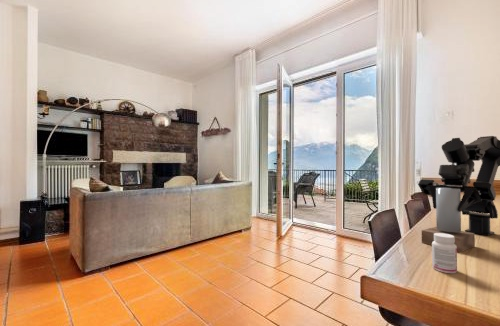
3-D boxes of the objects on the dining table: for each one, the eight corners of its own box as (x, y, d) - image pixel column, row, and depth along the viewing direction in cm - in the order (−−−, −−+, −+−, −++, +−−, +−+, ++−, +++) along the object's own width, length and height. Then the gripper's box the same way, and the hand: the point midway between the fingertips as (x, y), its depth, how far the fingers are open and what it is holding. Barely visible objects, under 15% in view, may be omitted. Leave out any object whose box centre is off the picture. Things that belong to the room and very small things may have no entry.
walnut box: (437, 237, 84) (437, 226, 84) (474, 246, 75) (474, 233, 75) (421, 242, 79) (421, 230, 79) (459, 252, 70) (459, 238, 70)
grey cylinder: (442, 226, 80) (441, 187, 80) (464, 230, 75) (464, 188, 75) (432, 228, 77) (432, 188, 78) (455, 233, 72) (454, 189, 72)
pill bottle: (462, 274, 56) (461, 238, 56) (438, 273, 57) (438, 237, 57) (449, 266, 61) (449, 232, 61) (428, 264, 62) (427, 231, 62)
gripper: (420, 156, 86) (404, 189, 81) (491, 154, 70) (478, 195, 65) (430, 177, 90) (416, 210, 85) (501, 180, 74) (489, 221, 69)
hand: (446, 209), depth 76 cm, fingers closed on grey cylinder, 6 cm apart
